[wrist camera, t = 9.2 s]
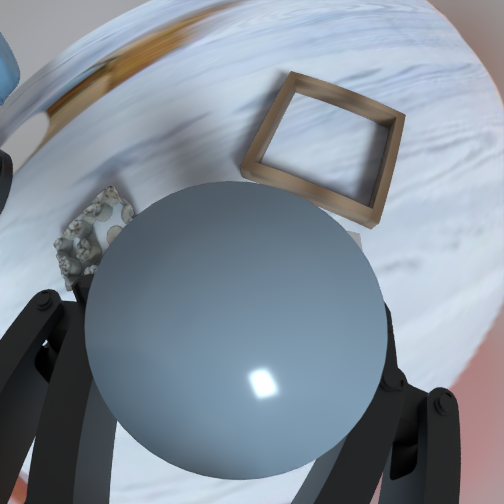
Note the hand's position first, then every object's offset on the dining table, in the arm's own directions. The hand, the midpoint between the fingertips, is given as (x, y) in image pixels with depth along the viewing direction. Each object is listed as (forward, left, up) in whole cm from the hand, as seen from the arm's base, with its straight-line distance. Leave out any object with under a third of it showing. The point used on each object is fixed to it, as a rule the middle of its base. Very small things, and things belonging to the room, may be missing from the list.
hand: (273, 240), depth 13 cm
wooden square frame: (0, +15, -14) cm, 20 cm away
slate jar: (+1, -4, -4) cm, 5 cm away
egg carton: (-18, -5, -15) cm, 24 cm away
